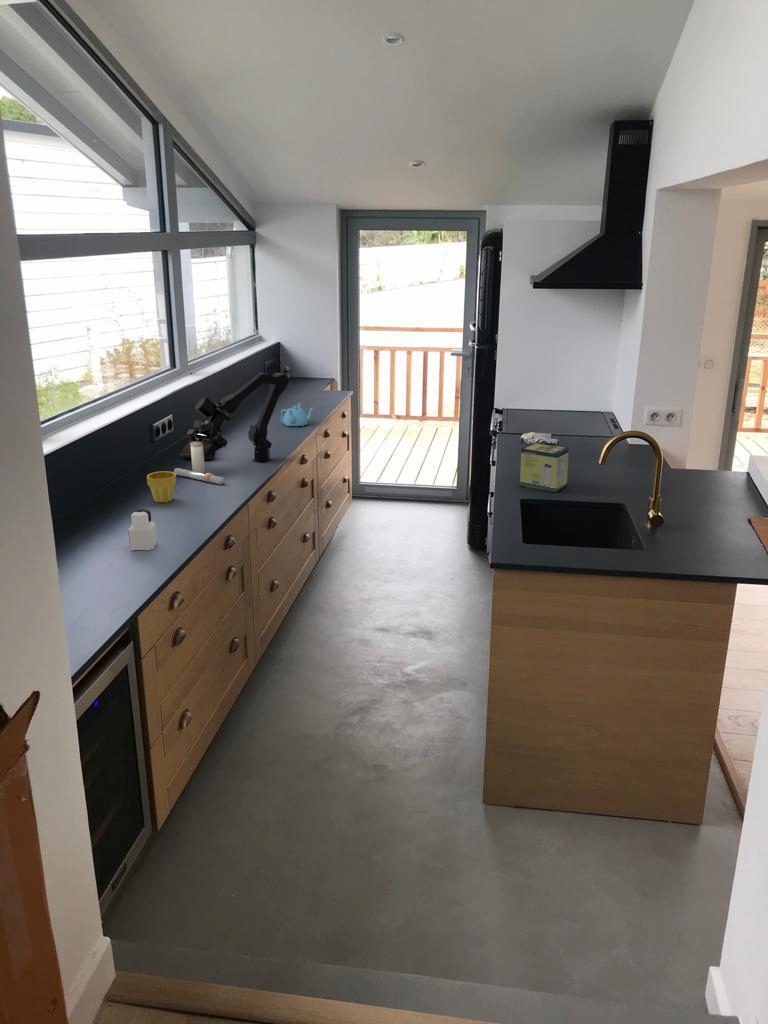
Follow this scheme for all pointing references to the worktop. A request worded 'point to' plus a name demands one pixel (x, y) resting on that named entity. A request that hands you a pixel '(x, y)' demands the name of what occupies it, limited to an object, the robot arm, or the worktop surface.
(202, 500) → the worktop surface
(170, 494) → the plant pot
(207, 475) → the grey steel rod
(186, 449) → the dark brown lump
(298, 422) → the teapot
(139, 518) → the medicine bottle
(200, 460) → the white grey cylinder
